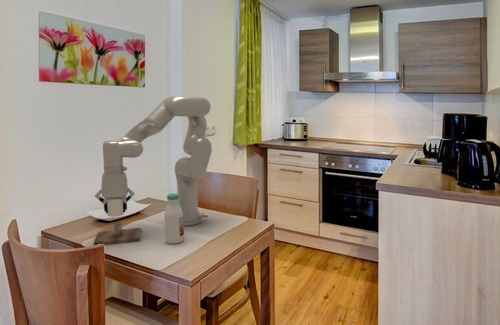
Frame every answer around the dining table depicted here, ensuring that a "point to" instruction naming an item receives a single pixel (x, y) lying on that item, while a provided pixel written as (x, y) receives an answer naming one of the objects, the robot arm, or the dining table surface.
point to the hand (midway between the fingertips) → (115, 211)
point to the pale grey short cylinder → (115, 206)
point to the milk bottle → (173, 220)
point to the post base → (117, 239)
